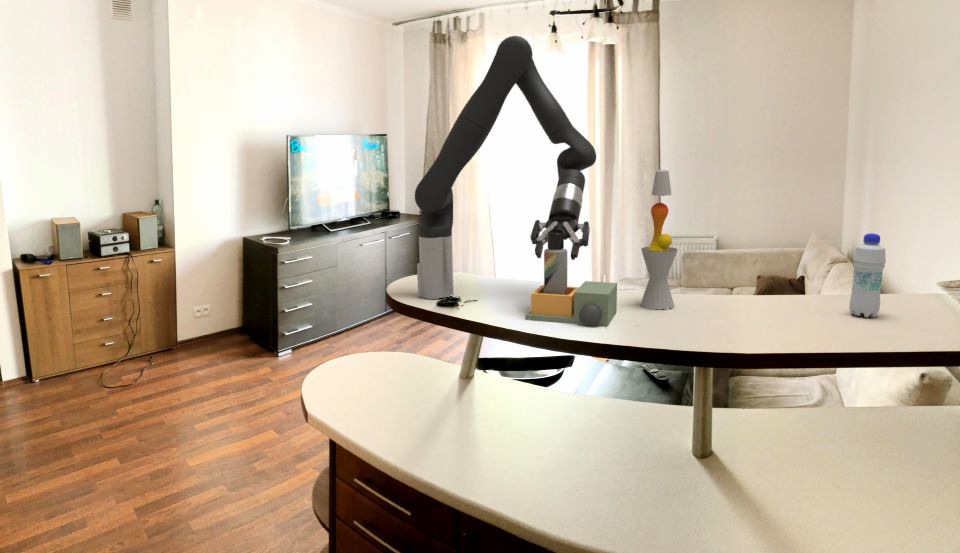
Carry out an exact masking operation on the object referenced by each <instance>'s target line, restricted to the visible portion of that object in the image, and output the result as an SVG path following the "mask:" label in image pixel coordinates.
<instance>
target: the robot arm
mask: <svg viewBox="0 0 960 553" xmlns="http://www.w3.org/2000/svg"><path fill="white" fill-rule="evenodd" d="M515 85H516V86H517V87H518V88H519V90H520V91H521V93H522V94H523V96H524V97H525V99H526V101H527V103H528V105H529V106H530V108H531V110H532V112H533V114H534V116H535V117H536V120H537V121H538V122H539V124H540V126H541V127H542V129H543V131H544V133H545V135H546V136H547V138H548V139H549V141H550V143H552V144H554V145H559V144H565V145H567V146H568V147H567V148H566V149H564V150H562V151H561V152H560V153H559V155H558V156H557V160H556V166H557V167H556V168H557V178H558V180H557V184H556V188H555V191H554V195H553V197H552V201H551V202H552V203H551V207H550V211H549V215H548V218H547V219H548V220H546V221H545V222H540V219H536V220H535V221H534V225H533V227H532V230H531V234H530V237H529V238H530V242H531V243H532V245H535V248H534V254H535V256H536V258H537V259H541V258H542V254H543V250H544V245H546V244H548V231H550V230H553V229H557V230H561V231H564V241H566V240H567V239H569V241H570V242H571V243H572V246H571V251H570V258H571V260H572V261H575V259H577V258H578V257H579V253H580V252H579V251H580V248H581V247H587V246H589V242H590V241H589V240H590V231H591V228H590V223H589V221H588V220H587V221H584V222H583V223H579V220H580V215H581V209H582V206H583V195H584V190H585V184H586V177H585V174H584V173H583V172H582V171H584V170H587V169H588V168H590V167H592V166H593V165H594V164H595V163H596V160H597V153H596V149H595V147H594V146H593V145H592V143H591V142H590V141H589V140H588V139H587V138H586V137H585V136H584V135H582V133H581V132H580V131H579V130H577V128H576V127H575V126H574V125H573V124H572V122H571V120H570V119H569V117H568V115H567V113H566V112H565V111H564V109H563V107H562V106H561V104H560V103H559V102H558V100H557V98H556V97H555V96H554V94H553V93H552V92H551V91H550V89H549V88H548V86H547V85H546V83H545V82H544V79H543V78H542V76H541V75H540V73H539V70H538V69H537V66H536V63H535V61H534V59H533V49H532V46H531V44H530V43H529V41H528V40H527V39H525V38H524V37H522V36H519V35H512V36H511V35H510V36H508V37H506V38H504V39H502V41H500V43H499V45H498V47H497V49H496V51H495V55H494V56H493V60H492V62H491V65H490V66H489V68H488V70H487V72H486V75H485V76H484V78H483V80H482V82H481V83H480V84H479V85H478V87H477V89H475V91H474V92H473V94H472V95H471V96H470V98H469V99H468V101H467V102H466V103H465V105H464V107H462V109H461V111H460V113H459V114H458V116H457V117H456V118H457V119H456V120H455V121H454V123H453V125H452V127H451V129H450V130H449V132H448V135H447V137H446V139H445V140H444V142H443V144H442V147H441V148H440V151H439V153H438V155H437V156H436V159H435V161H434V162H433V163H432V165H430V167H429V169H428V171H426V173H425V174H424V176H423V178H422V179H421V180H420V181H419V183H418V184H417V186H416V187H415V190H414V200H415V204H416V206H417V207H418V209H420V215H421V216H420V222H419V225H418V248H419V249H418V250H419V262H418V263H417V264H416V271H417V273H416V275H417V276H416V278H417V297H418V298H423V299H426V300H427V299H429V300H440V299H439V298H443V297H448V296H451V295H453V296H454V269H453V267H454V266H453V265H454V264H453V261H454V260H453V225H454V193H453V186H454V185H455V182H456V181H457V178H458V177H459V175H460V173H461V172H462V171H463V169H464V168H465V167H466V165H467V164H468V163H469V162H470V161H471V160H472V158H474V156H475V155H476V153H477V152H478V151H479V150H480V148H481V147H482V146H483V144H484V143H485V141H486V140H487V138H488V136H489V134H490V133H491V131H492V129H493V127H494V125H495V124H496V121H497V119H498V117H499V115H500V113H501V111H502V109H503V105H504V103H505V102H506V101H505V100H506V99H507V97H508V95H509V94H510V92H511V91H512V89H513V87H515ZM579 230H580V232H581V233H582V236H581V238H579V237H578V236H577V235H576V232H578V231H579ZM541 232H542V234H540V233H541Z"/></svg>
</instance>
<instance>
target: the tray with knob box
mask: <svg viewBox="0 0 960 553" xmlns="http://www.w3.org/2000/svg"><path fill="white" fill-rule="evenodd" d="M617 301H618V283H617V282H605V281H590V280H589V281H588V280H585V281H584V282H583V283H582V284H581V285H580V286H579V287H575V286H567V295H558V294H544V284H542V285H540V286H539V287H537V288H536V289H535V290H534V291H532V292H531V293H530V310H529V311H527V313H526V314H525V317H524V318H525V320H527V321H528V320H529V321H541V322H552V323H564V324H565V323H566V324H576V325H585V326H586V327H591V328H592V327H595V326H600V327H601V326H603V327H609V325H610V324H611V322H612V321H613V319H614V318H615V316H616V314H617V308H618V307H617V305H618V304H617V303H618V302H617Z"/></svg>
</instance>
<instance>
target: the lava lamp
mask: <svg viewBox="0 0 960 553" xmlns="http://www.w3.org/2000/svg"><path fill="white" fill-rule="evenodd" d="M654 175H655V176H654V179H653V180H654V181H653V185H652V190H651V196H660V197H661V196H662V197H666V196H672V188H671V187H672V186H671V179H670V178H671V177H670V172H669V170H668V169H657V170H656V171H655V173H654ZM650 215H651V218H652V223H653V236H652V240H651V243H650V245H649V246H644V247H642V248H641V254H642V256H643V259H644V263H645V266H646V269H647V273H648V275H649V276H648V277H649V279H648V282H647V284H646V288H645V290H644V292H643V296H642V299H641V301H640V304H639V305H640V307H641V306H642V307H641V308H643V307H644V308H643V309H647V308H648V310H653V309H667V308H672V309H674V308H675V303H674V299H673V296H672V292H671V289H670V285H669V282H668V275H669V273H670V271H671V269H672V266H673V263H674V261H675V258H676V256H677V253H678V248H676V247H670V246H671V245H672V243H673V239H672V236H671V235H670V234H667V233H663V234H662V232H663V228H664V224H665V221H666V219H667V217H668V215H669V207H668V206H667V205H666V204H665V203H664V202H657V203H655V204H653V205H652V206H651V209H650ZM673 307H674V308H673ZM667 310H668V309H667Z"/></svg>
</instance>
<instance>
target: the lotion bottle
mask: <svg viewBox="0 0 960 553" xmlns="http://www.w3.org/2000/svg"><path fill="white" fill-rule="evenodd" d="M564 243H565V240H564V231H561V230H557V229H553V230H550V231H548V242H547V249H546V248H545V249H543V250H544V252H543V285H544V294H558V295H567V287H568V250H567V249H566V248H564V247H565V244H564Z"/></svg>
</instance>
